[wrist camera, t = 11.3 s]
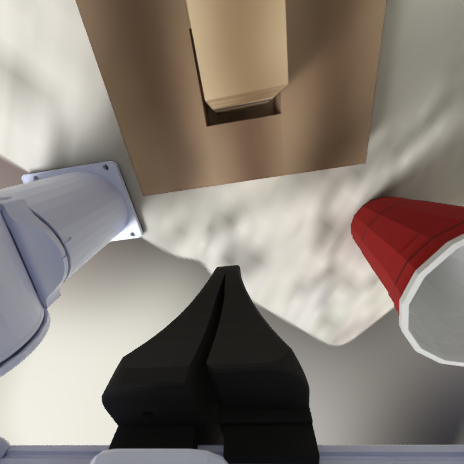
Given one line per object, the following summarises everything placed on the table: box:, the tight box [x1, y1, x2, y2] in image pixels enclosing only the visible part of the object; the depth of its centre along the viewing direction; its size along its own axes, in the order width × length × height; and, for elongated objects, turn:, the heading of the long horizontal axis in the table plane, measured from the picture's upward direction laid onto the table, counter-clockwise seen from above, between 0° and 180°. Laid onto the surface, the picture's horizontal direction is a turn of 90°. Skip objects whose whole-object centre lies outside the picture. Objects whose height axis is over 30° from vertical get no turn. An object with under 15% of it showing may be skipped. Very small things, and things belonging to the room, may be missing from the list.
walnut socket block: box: [76, 0, 387, 196], centre depth 15 cm, size 18×14×4 cm
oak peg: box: [186, 0, 288, 114], centre depth 12 cm, size 4×4×8 cm
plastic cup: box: [351, 197, 464, 366], centre depth 16 cm, size 11×11×12 cm
